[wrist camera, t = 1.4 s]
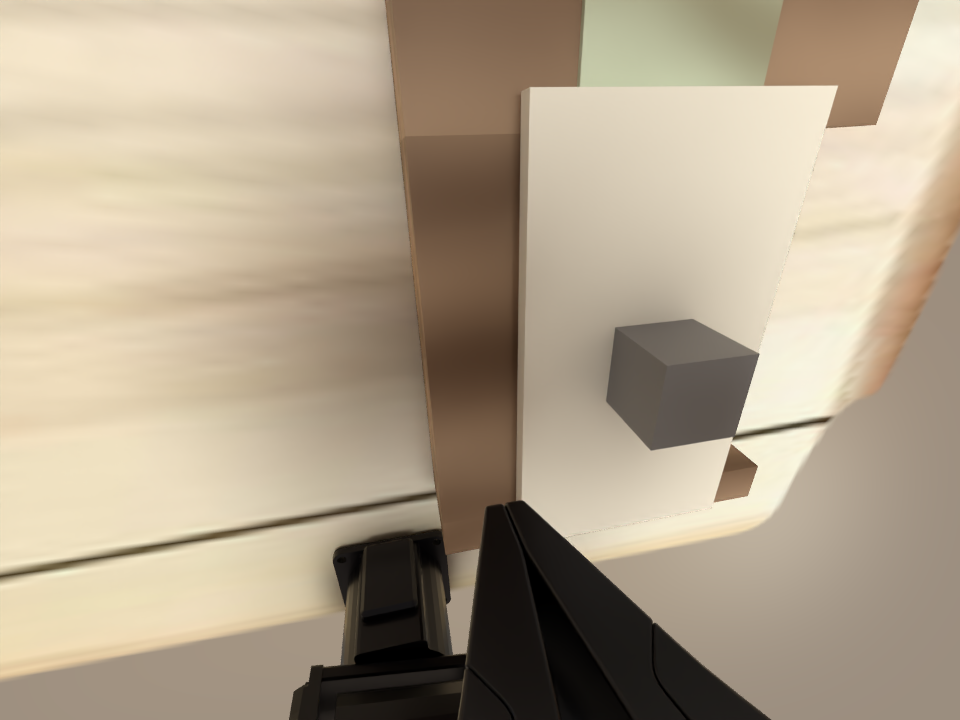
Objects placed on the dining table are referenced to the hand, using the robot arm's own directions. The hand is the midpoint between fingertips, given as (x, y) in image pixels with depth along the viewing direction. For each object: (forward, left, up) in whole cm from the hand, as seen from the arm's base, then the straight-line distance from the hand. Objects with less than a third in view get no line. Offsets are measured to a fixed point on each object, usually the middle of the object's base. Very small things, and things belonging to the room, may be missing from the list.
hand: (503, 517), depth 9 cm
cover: (0, -7, -7) cm, 10 cm away
